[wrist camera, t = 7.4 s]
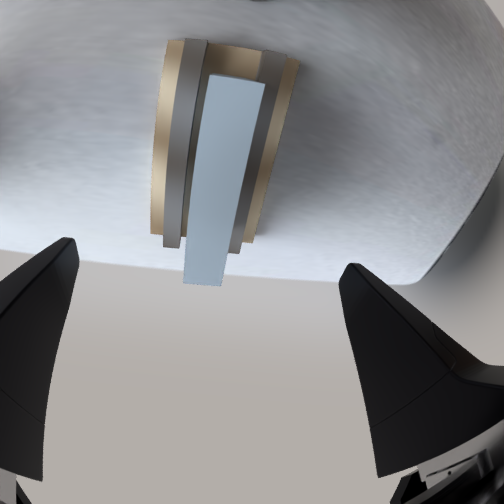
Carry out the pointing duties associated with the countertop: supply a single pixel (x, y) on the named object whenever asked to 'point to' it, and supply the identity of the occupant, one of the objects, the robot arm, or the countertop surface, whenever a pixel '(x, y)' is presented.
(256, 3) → the countertop surface
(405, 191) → the countertop surface
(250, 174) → the door track
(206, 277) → the door panel
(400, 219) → the countertop surface
